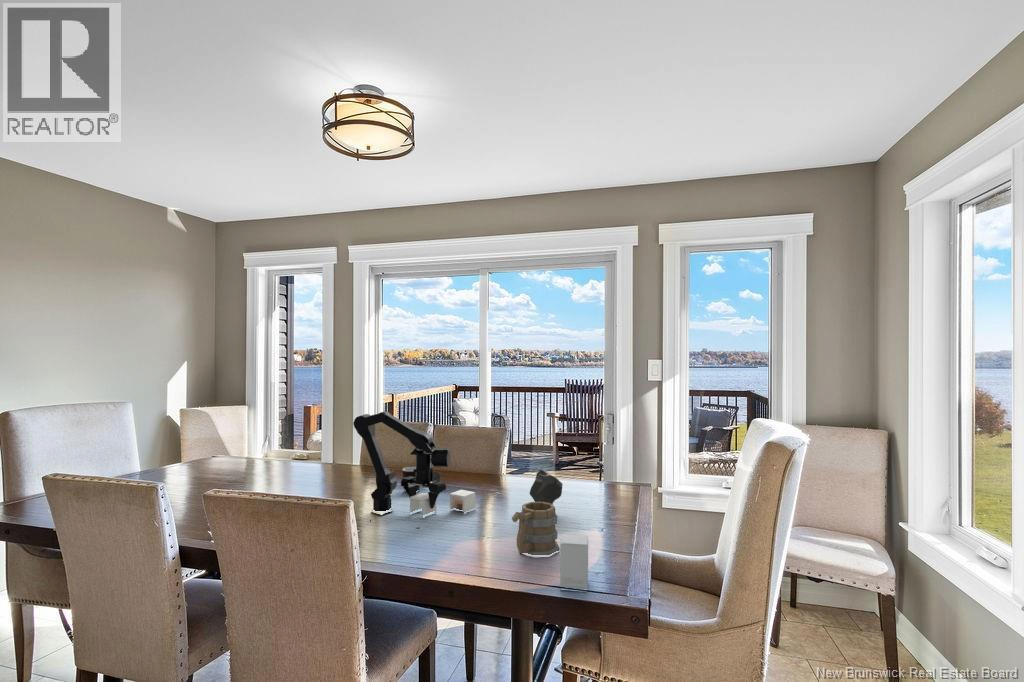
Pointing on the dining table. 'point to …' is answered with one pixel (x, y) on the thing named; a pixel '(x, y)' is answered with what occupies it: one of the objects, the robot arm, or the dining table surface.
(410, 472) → the coffee mug
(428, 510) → the cover
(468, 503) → the cover
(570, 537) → the supplement box
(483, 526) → the dining table surface
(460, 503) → the plain orange cube
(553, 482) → the dark grey rock
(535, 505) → the tankard
